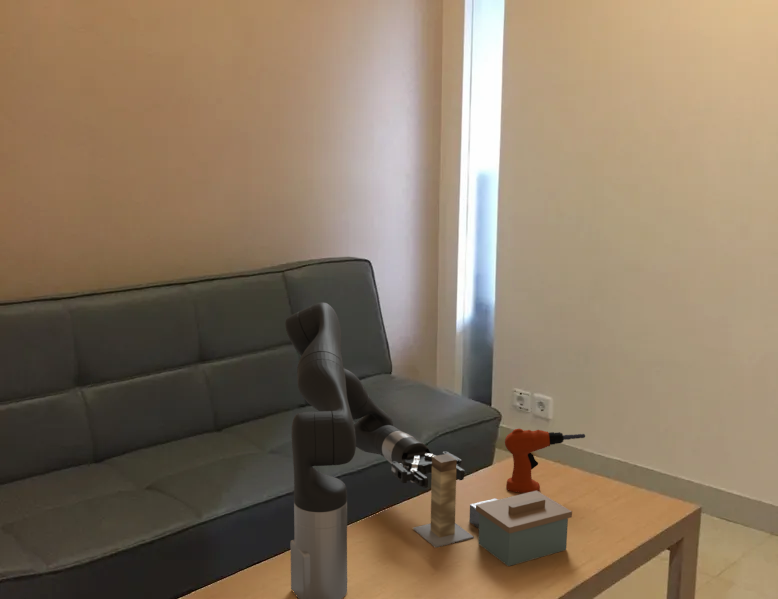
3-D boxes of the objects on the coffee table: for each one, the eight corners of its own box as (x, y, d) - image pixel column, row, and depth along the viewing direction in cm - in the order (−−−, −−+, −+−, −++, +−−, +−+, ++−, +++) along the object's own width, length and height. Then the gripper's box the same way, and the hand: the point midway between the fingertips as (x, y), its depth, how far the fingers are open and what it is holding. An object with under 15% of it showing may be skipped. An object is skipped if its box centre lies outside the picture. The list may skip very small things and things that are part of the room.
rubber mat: (435, 547, 164) (435, 546, 164) (412, 529, 171) (412, 527, 171) (473, 537, 168) (473, 536, 168) (449, 520, 176) (449, 518, 176)
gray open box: (487, 535, 169) (488, 516, 168) (469, 522, 175) (469, 504, 174) (513, 528, 172) (514, 510, 171) (495, 515, 178) (495, 498, 177)
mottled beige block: (439, 537, 167) (441, 462, 164) (430, 530, 170) (431, 456, 167) (454, 533, 169) (456, 459, 166) (445, 526, 172) (447, 453, 169)
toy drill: (590, 490, 188) (585, 427, 185) (507, 496, 190) (501, 434, 187) (587, 481, 193) (582, 419, 190) (506, 487, 195) (500, 426, 192)
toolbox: (507, 568, 156) (509, 519, 154) (474, 543, 166) (476, 497, 164) (569, 550, 163) (572, 503, 161) (534, 527, 173) (536, 483, 171)
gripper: (376, 441, 177) (414, 468, 163) (433, 431, 184) (474, 456, 170) (376, 474, 179) (413, 503, 165) (433, 463, 185) (473, 490, 171)
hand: (444, 479), depth 167 cm, fingers open, 8 cm apart
